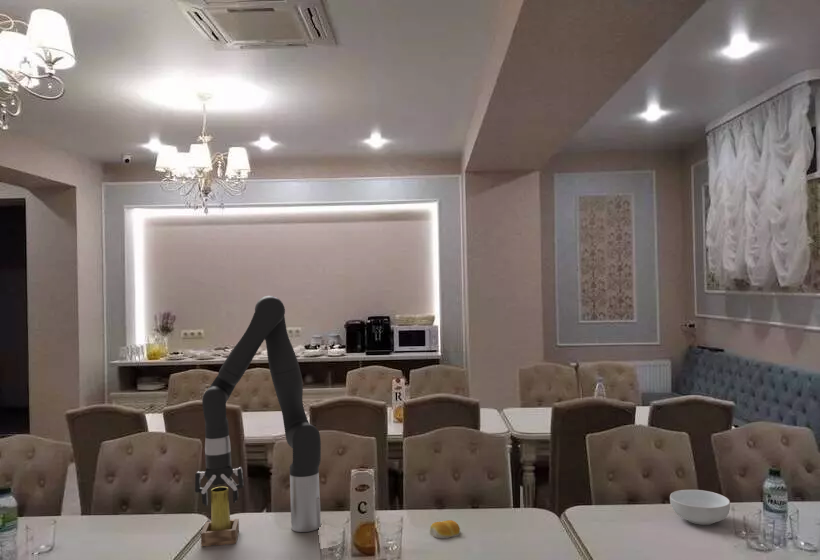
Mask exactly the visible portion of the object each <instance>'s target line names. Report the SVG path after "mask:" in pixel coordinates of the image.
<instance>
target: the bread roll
mask: <svg viewBox="0 0 820 560" xmlns="http://www.w3.org/2000/svg"><path fill="white" fill-rule="evenodd" d="M460 531H461V528H460V526H459V524H458V523H457V522H456V521H454V520H452V519H449V520H442V521H434V522H433V523H432V524H431V525H430V528H429V534H430V535H431V536H432V537H434V538H435V539H448V538H451V537H456V536H457V537H458V536H459V534H460Z"/></svg>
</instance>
